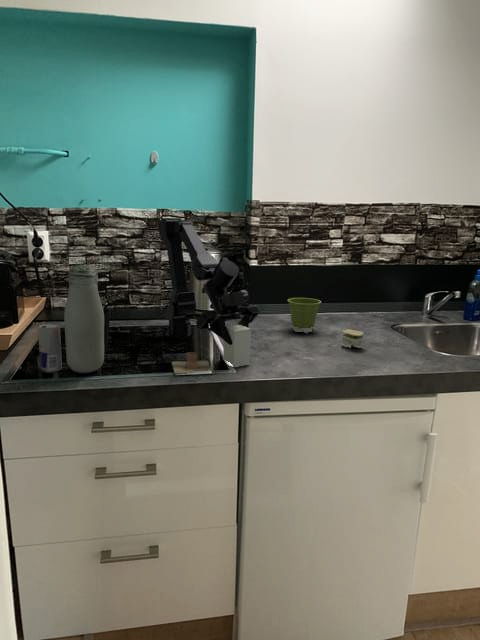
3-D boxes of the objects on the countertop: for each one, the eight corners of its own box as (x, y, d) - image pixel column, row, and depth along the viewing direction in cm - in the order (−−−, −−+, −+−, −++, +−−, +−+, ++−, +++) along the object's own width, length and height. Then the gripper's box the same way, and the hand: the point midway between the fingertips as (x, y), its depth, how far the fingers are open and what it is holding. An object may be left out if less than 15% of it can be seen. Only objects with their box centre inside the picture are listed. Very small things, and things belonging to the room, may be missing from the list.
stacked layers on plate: (331, 348, 167) (332, 331, 166) (346, 343, 174) (347, 327, 172) (358, 355, 161) (360, 338, 159) (373, 349, 167) (374, 333, 166)
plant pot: (324, 330, 187) (326, 300, 185) (310, 337, 178) (312, 305, 175) (295, 325, 193) (296, 296, 191) (280, 332, 184) (281, 300, 181)
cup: (116, 348, 158) (115, 310, 156) (102, 355, 151) (100, 315, 149) (94, 345, 161) (93, 307, 158) (79, 352, 154) (77, 312, 151)
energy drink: (43, 366, 140) (41, 323, 138) (64, 366, 141) (62, 323, 138) (38, 372, 135) (35, 328, 132) (59, 372, 136) (56, 328, 133)
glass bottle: (70, 380, 131) (65, 269, 124) (63, 367, 140) (58, 263, 133) (109, 374, 135) (106, 268, 129) (100, 363, 144) (97, 262, 138)
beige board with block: (171, 364, 145) (171, 348, 144) (207, 363, 147) (207, 347, 146) (174, 376, 136) (175, 360, 135) (212, 374, 138) (213, 358, 137)
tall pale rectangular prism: (223, 362, 148) (224, 326, 145) (238, 360, 151) (239, 324, 148) (233, 368, 144) (234, 331, 141) (249, 365, 147) (250, 328, 144)
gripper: (202, 282, 140) (223, 331, 134) (257, 278, 150) (279, 323, 144) (187, 306, 148) (207, 353, 142) (240, 300, 158) (261, 343, 152)
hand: (239, 342), depth 145 cm, fingers closed on tall pale rectangular prism, 5 cm apart
